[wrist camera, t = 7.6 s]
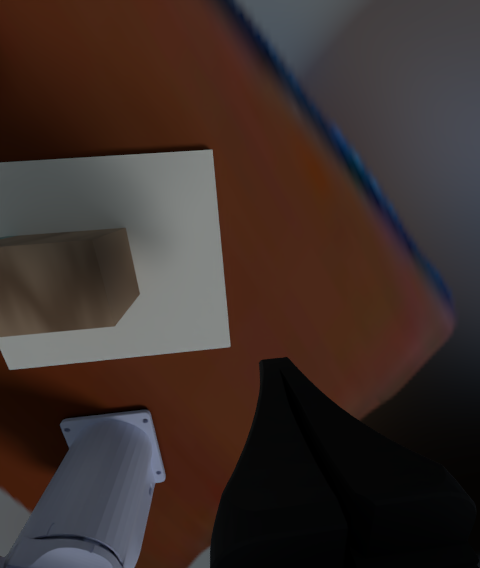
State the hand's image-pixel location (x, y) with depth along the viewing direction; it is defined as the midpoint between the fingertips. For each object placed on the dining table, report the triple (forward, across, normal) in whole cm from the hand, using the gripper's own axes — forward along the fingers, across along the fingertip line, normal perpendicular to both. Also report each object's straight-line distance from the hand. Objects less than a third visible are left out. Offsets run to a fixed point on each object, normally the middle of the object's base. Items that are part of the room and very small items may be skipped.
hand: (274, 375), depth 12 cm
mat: (+9, +11, -4) cm, 15 cm away
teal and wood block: (+6, +8, -4) cm, 11 cm away
